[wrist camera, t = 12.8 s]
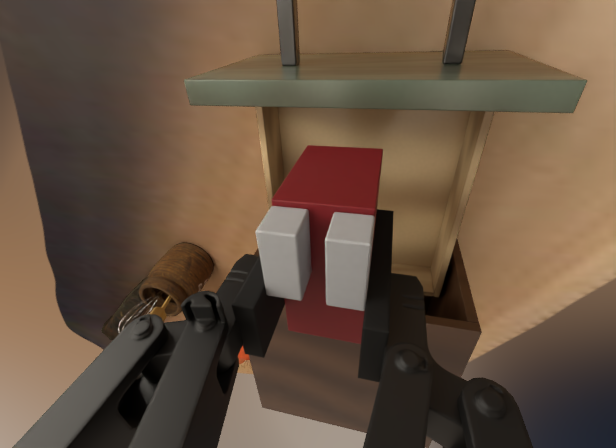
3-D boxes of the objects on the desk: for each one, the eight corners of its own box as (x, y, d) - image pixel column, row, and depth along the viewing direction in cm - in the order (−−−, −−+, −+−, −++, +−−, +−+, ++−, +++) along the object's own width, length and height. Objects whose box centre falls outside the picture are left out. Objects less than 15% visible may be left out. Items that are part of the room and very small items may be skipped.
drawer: (246, -49, 19) (141, -89, 11) (547, -79, 16) (697, -165, 8) (280, 244, 33) (243, 319, 25) (446, 265, 29) (464, 359, 21)
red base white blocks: (307, 144, 14) (253, 225, 9) (383, 148, 13) (372, 239, 8) (312, 259, 18) (277, 360, 13) (371, 267, 17) (358, 378, 12)
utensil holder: (163, 249, 39) (87, 327, 30) (193, 233, 36) (120, 314, 27) (194, 281, 41) (133, 363, 32) (226, 268, 38) (169, 354, 29)
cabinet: (277, 212, 31) (232, 291, 23) (455, 230, 28) (481, 332, 19) (290, 323, 42) (262, 407, 33) (421, 347, 38) (428, 448, 29)
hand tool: (135, 325, 52) (115, 349, 49) (114, 312, 51) (92, 336, 48) (181, 279, 42) (160, 305, 38) (156, 261, 41) (132, 287, 37)
